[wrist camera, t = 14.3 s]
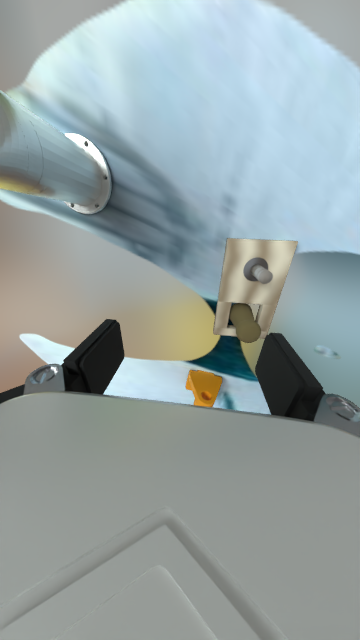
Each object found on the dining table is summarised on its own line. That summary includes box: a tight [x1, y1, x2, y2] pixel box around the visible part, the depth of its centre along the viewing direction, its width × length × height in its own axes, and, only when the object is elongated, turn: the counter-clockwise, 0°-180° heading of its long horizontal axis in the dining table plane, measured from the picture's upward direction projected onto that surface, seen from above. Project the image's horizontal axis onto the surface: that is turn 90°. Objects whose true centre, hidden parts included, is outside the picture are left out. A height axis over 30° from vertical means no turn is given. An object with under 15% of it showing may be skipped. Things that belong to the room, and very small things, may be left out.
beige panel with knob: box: [213, 238, 298, 339], centre depth 38 cm, size 14×24×9 cm, turn 178°
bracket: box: [186, 370, 222, 407], centre depth 53 cm, size 11×7×12 cm, turn 79°
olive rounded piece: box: [229, 303, 261, 343], centre depth 40 cm, size 6×6×11 cm
